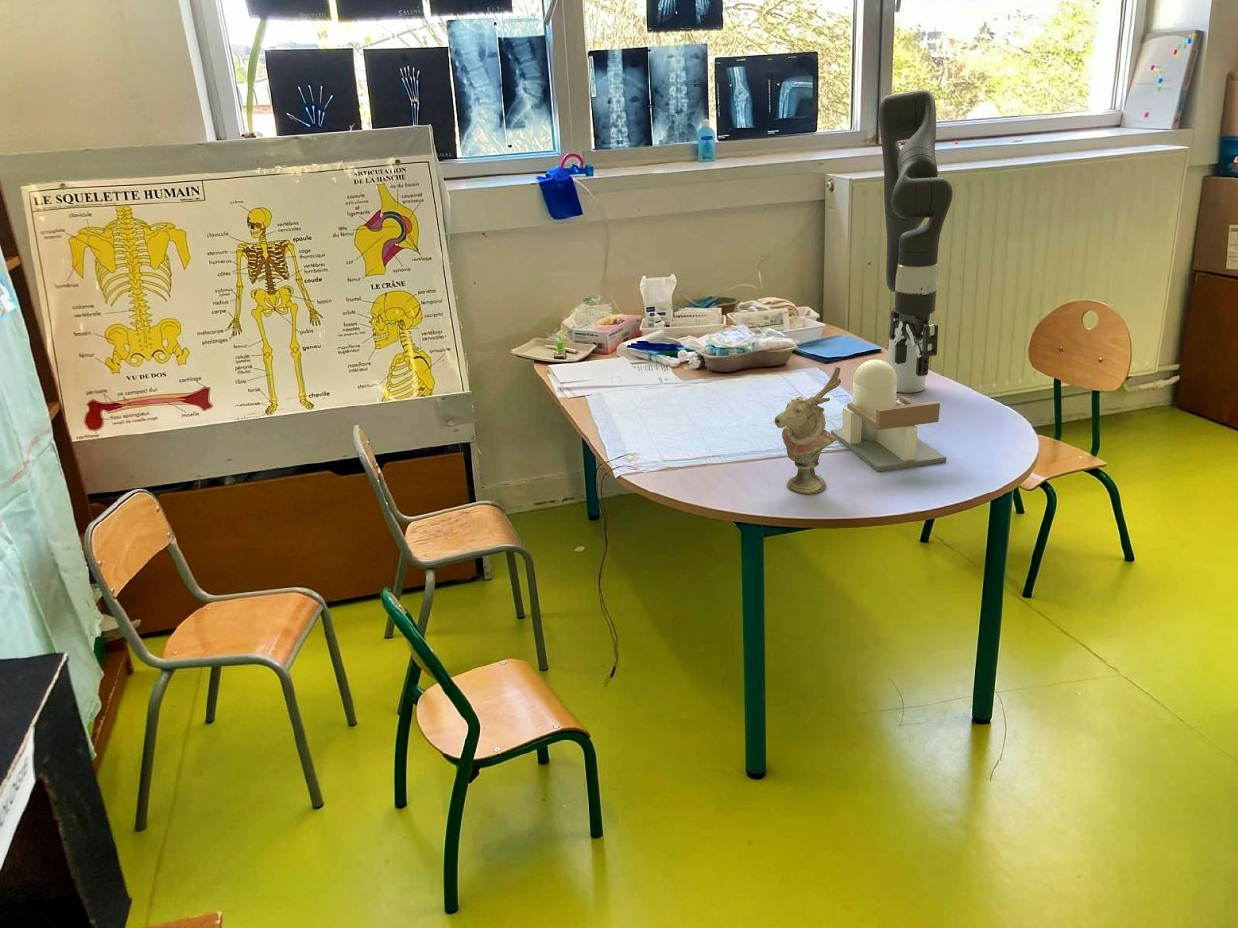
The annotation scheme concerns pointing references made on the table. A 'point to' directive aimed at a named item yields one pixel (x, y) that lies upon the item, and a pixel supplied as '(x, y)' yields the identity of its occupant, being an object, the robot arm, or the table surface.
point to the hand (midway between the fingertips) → (910, 369)
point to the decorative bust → (807, 437)
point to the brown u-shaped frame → (901, 414)
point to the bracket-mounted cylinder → (887, 445)
